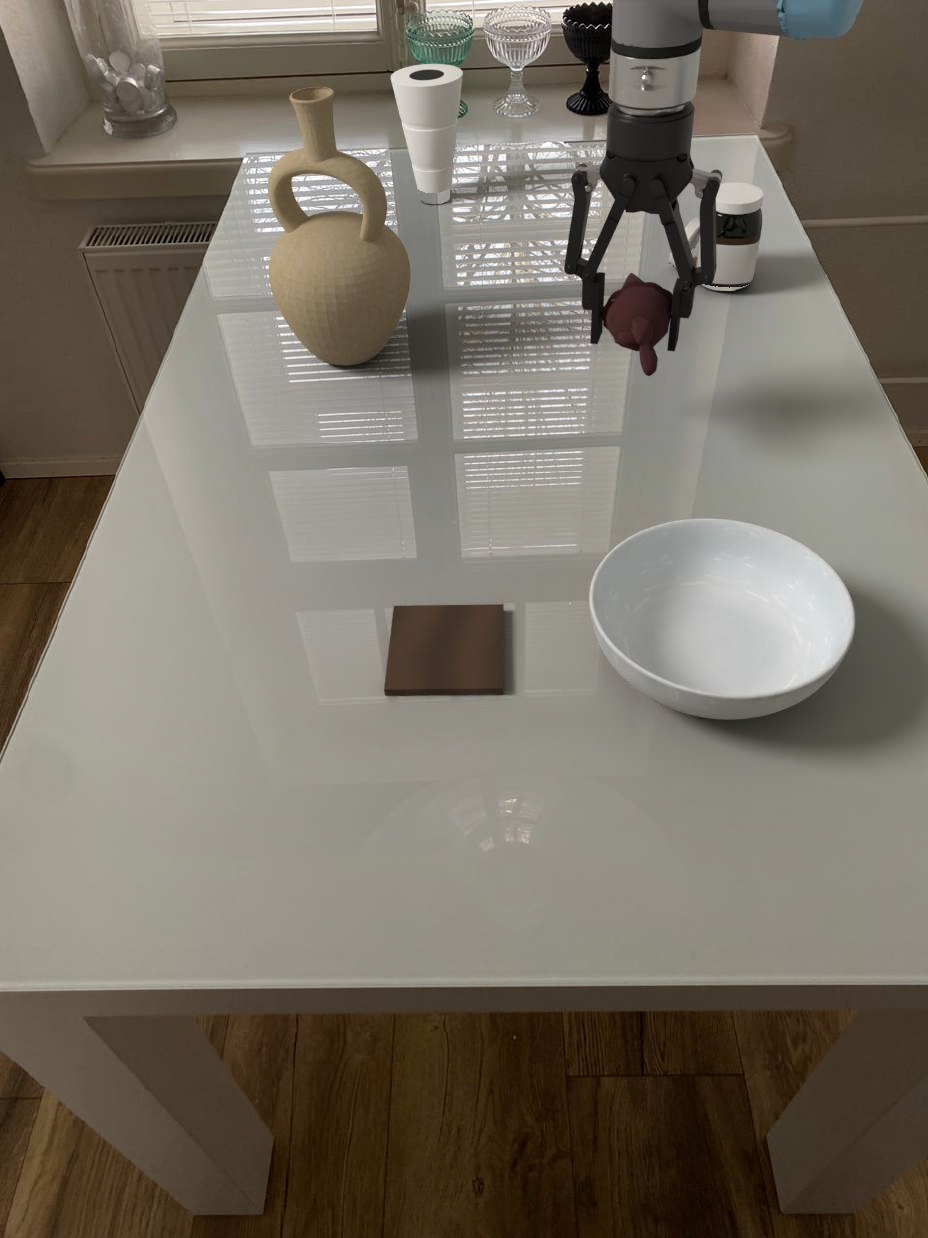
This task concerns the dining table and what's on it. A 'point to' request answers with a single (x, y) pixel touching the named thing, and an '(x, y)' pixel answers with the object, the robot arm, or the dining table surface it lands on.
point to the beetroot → (639, 318)
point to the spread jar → (733, 234)
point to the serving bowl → (720, 617)
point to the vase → (334, 248)
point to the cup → (429, 120)
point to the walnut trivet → (446, 650)
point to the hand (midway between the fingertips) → (634, 340)
